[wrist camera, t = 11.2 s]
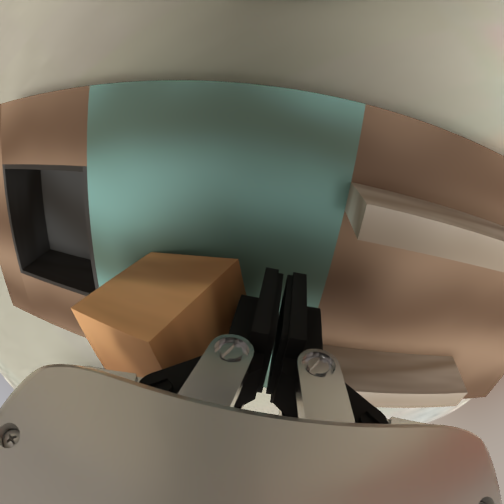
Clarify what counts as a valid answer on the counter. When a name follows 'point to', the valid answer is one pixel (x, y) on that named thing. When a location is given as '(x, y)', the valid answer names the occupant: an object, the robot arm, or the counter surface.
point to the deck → (269, 217)
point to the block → (161, 311)
